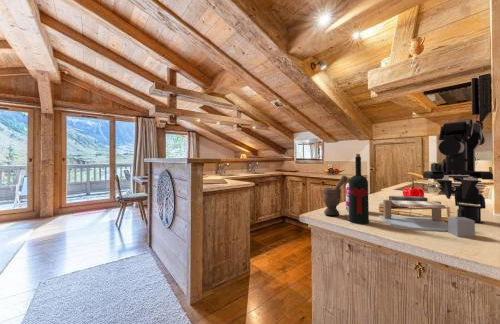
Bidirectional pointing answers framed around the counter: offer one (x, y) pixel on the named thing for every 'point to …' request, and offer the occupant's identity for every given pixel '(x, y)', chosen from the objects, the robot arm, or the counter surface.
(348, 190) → the supplement can
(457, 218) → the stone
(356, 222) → the wine bottle
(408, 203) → the trapdoor
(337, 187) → the mortar and pestle
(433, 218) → the frame
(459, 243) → the counter surface
